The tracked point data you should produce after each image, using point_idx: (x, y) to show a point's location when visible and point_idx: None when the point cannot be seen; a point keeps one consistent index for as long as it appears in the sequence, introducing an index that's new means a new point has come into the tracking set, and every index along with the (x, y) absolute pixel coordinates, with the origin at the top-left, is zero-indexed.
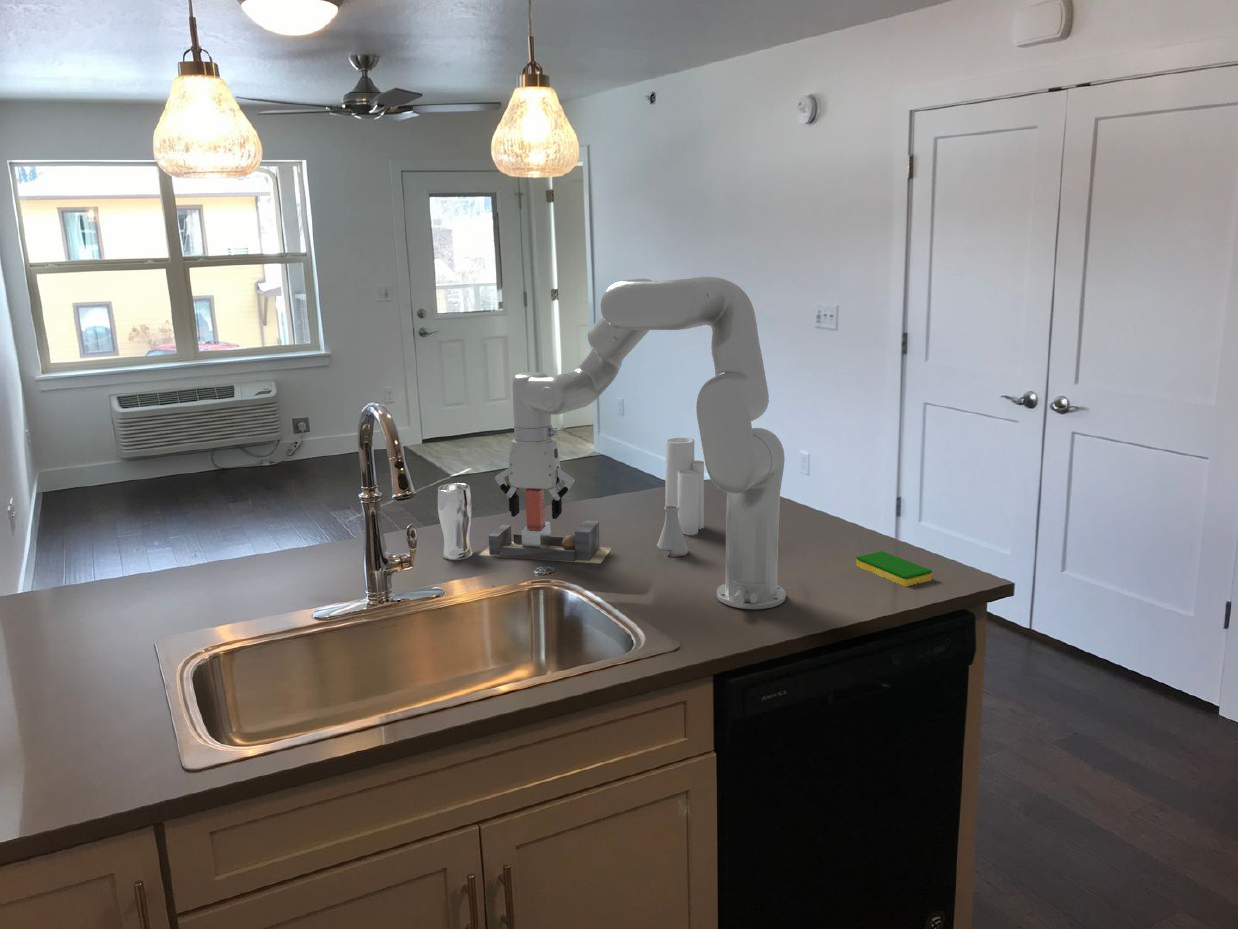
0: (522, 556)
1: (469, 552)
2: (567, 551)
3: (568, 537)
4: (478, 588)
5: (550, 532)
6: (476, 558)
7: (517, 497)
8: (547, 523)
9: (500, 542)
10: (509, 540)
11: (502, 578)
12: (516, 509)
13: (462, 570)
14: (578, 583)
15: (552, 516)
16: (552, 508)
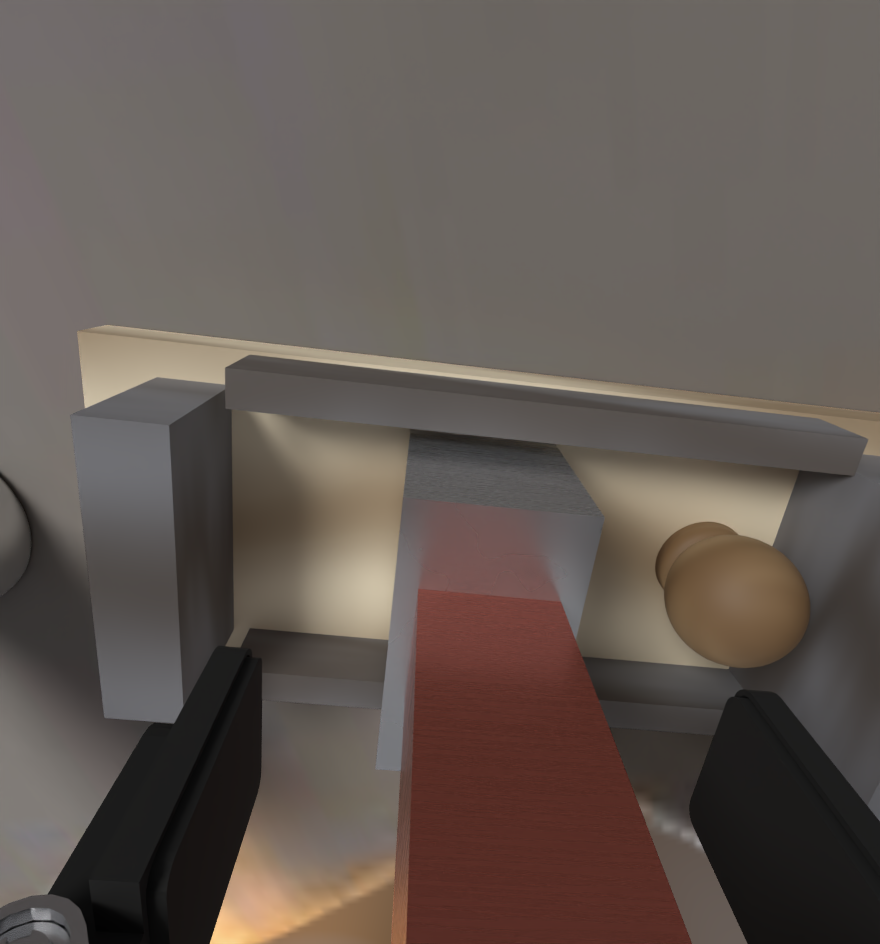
0: None
1: (8, 557)
2: (708, 734)
3: (746, 661)
4: (283, 900)
5: (575, 478)
6: (84, 557)
7: (178, 913)
8: (580, 571)
9: (207, 637)
10: (219, 439)
11: (351, 803)
12: (241, 791)
13: (103, 731)
14: None
15: (701, 835)
16: (752, 937)
